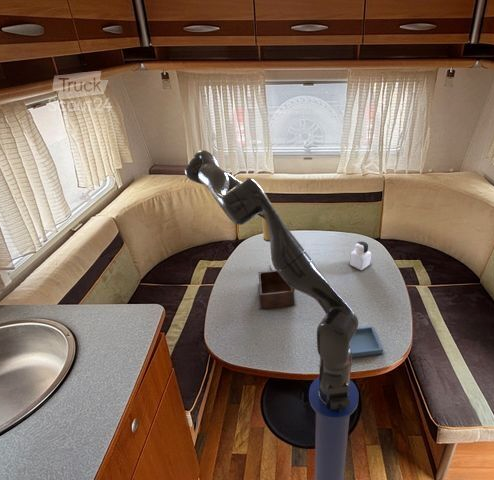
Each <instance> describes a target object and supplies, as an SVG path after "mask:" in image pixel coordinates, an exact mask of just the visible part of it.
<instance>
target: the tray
mask: <svg viewBox="0 0 494 480" xmlns="http://www.w3.org/2000/svg"><path fill="white" fill-rule="evenodd" d="M349 346H350V348H351V350H352V358H359V357H367V356H375V355H382V354H383V350H384V349H383V347H382V345H381V343H380V340H379V338H378V335H377V333H376V330H375V329H374V326H373V325H371V326H369V325H368V326H360V327H358V328H357V330H356V332H355V334H354V336H353V337H352V339H351V341H350V342H349Z"/></svg>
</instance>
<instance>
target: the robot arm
mask: <svg viewBox="0 0 494 480" xmlns="http://www.w3.org/2000/svg"><path fill="white" fill-rule="evenodd" d="M184 174H185V176H186V178H187V179H189V180H190V181H192V182H194V183H197V184H200V185H203V186H204V187H205V188H206V189H207V190H208V191H209V192H210V193H211V195H212V197H213V198H214V200H215V201H216V203H217V204H218V206H219V207H220V208H221V210H222V211H223V212H224V214H225V215H226V216H227V217H228V219H229V220H231V222H233V224H236V225H237V226H242V225H244V224H246V223H248V222H249V221H251V220H252V219H253V218H255V217H256V216H259V217H260V218H261V219H262V218H264V219H266V222H267V225H268V229H269V235H270V242H269V246H270V254H271V259H272V263H273V266H274V268H275V269H276V270H277V272H278V273H279V274H280V276H281V277H282V278H283V280H284V281H285V282H286V283H287V284H288V285H289V286H290V287H292V288H293V289H295V291H298V292H300V293H302V294H305V295H307V296H309V297H311V298H312V299H313V300H314V301H316V302H317V303H318V304H319V306H320V307H321V308H322V310H323V311H324V313H325V315H324V317H323V318H322V320H321V321H320V323H319V324H318V326H317V329H316V350H317V353H318V355H319V368H318V369H319V374H318V377H319V398H320V400H321V401H322V402H323V403H324V404H325V405H326V407H327V409H329V408H331V410H333V409H339V412H342V411H343V409H342V408H347V407H349V384H350V380H351V371H352V362H353V361H352V360H353V357H352V350H351V348H350V346H349V342H350V341H351V339H352V337H353V336H354V334H355V332H356V330H357V328H359V319H358V317H357V314H356V313H355V312H354V310H353V309H352V308H351V307H350V305H349V304H348V303H347V302H346V301H345V300H344V299H343V298H342V297H341V295H340V294H339V293H338V292H337V291H336V290H335V288H333V286H332V285H331V284H330V282H328V280H327V278H326V277H325V276H324V275H323V274H322V272H321V271H320V269H319V268H318V267H317V265H316V264H315V263H314V261H313V260H312V258H311V256H309V254H308V253H307V251H306V250H305V249H304V247H303V246H302V245H301V244H300V242H299V240H298V239H296V237H295V236H294V235H293V233H292V232H291V231H290V229H289V228H288V227H287V225H286V224H285V222H284V220H283V219H282V218H281V216H280V215H279V213H278V212H277V210H276V208H275V207H274V206H273V205H274V204H272V202H271V201H270V199H269V197H268V196H267V194H266V193H265V192H264V190H263V189H262V187H261V186H260V185H259V184H258V183H257V181H255V180H254V179H253V178H250V177H248V178H245V179H243V180H242V181H241V180H238V179H237V178H236V177H234V176H233V175H231V174H230V173H228V172H227V171H226V170H223V169H222V168H221V167H219V164H218V161H217V159H216V158H215V156H214V155H213V154H212V153H211V152H210V151H207V150H204V149H201V150H198V151H197V152H195V154H194V156H193V157H192V158H191V160H190V161H189V163H187V165H186V166H185V168H184ZM274 208H275V209H274Z"/></svg>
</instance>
